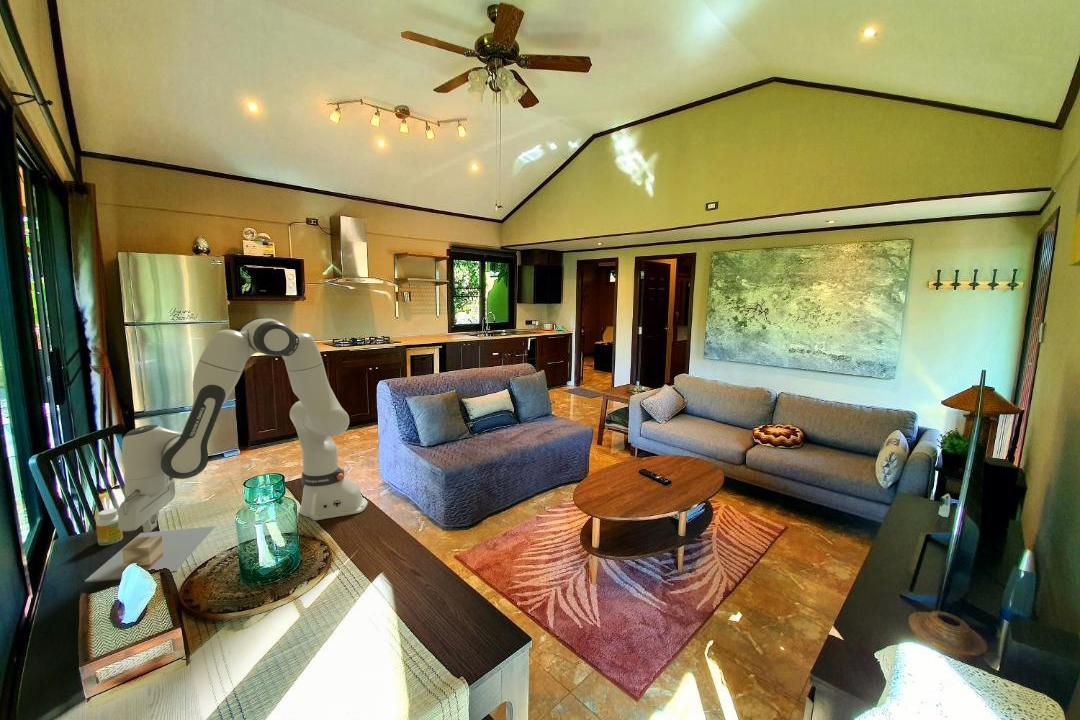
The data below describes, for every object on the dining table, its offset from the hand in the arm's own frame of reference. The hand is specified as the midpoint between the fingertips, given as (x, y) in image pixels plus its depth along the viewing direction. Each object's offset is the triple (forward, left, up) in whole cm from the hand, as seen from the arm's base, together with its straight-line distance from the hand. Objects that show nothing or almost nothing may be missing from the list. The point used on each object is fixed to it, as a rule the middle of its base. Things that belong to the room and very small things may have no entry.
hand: (150, 529), depth 124 cm
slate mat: (0, -2, -8) cm, 8 cm away
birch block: (0, +4, -2) cm, 4 cm away
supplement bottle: (+16, -11, -8) cm, 21 cm away
